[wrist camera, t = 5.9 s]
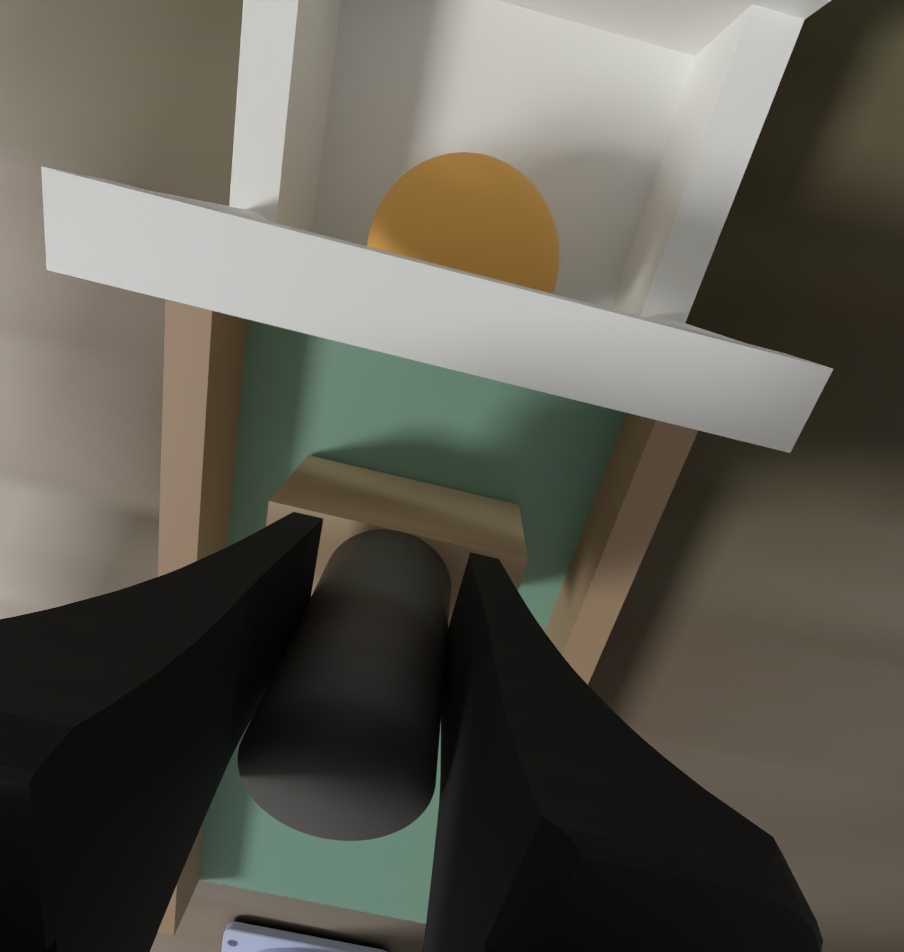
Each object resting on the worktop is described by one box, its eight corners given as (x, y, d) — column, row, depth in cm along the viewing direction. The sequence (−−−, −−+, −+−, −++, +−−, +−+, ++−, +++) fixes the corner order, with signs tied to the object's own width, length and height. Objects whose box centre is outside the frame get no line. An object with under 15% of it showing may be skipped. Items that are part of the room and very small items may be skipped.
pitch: (458, 891, 24) (449, 1176, 17) (192, 838, 24) (60, 1109, 16) (792, 31, 12) (1305, -332, 5) (265, -120, 12) (-131, -817, 4)
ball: (569, 192, 12) (521, 360, 14) (400, 147, 12) (371, 322, 14) (606, 168, 9) (536, 400, 10) (366, 104, 9) (331, 350, 10)
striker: (491, 591, 16) (502, 874, 9) (295, 547, 16) (136, 800, 9) (518, 504, 15) (558, 744, 8) (307, 454, 15) (138, 654, 7)
